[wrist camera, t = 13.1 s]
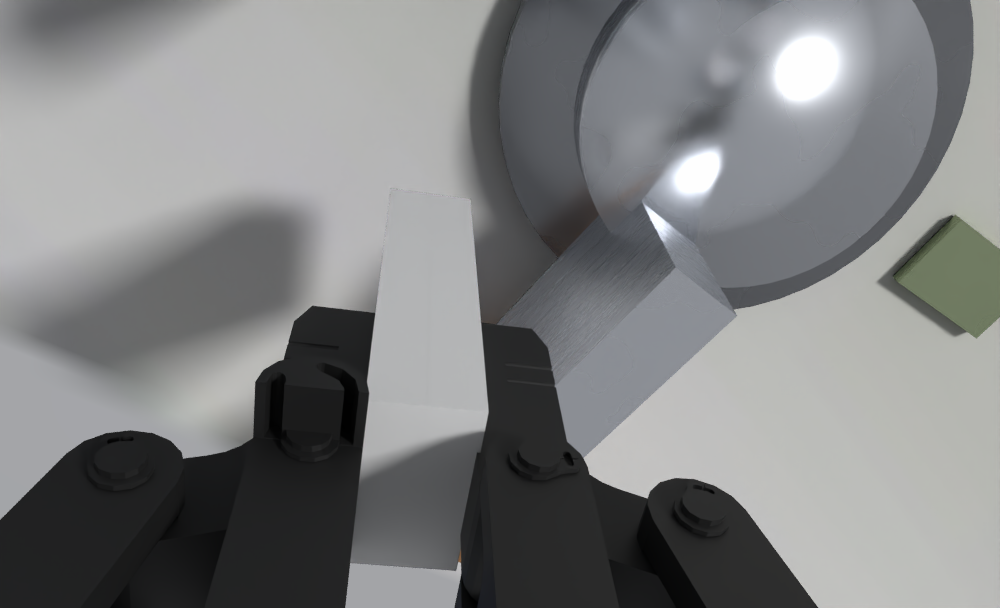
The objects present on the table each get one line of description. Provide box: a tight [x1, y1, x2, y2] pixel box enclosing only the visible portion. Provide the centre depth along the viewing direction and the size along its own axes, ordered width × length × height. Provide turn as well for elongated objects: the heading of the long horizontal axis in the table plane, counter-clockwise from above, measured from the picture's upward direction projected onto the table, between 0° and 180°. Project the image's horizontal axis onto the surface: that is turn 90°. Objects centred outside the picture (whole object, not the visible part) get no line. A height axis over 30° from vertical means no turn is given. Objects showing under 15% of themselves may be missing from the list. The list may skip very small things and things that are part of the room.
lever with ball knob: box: [458, 0, 938, 563], centre depth 17 cm, size 13×7×5 cm, turn 140°
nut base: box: [499, 0, 1000, 338], centre depth 19 cm, size 10×14×1 cm
